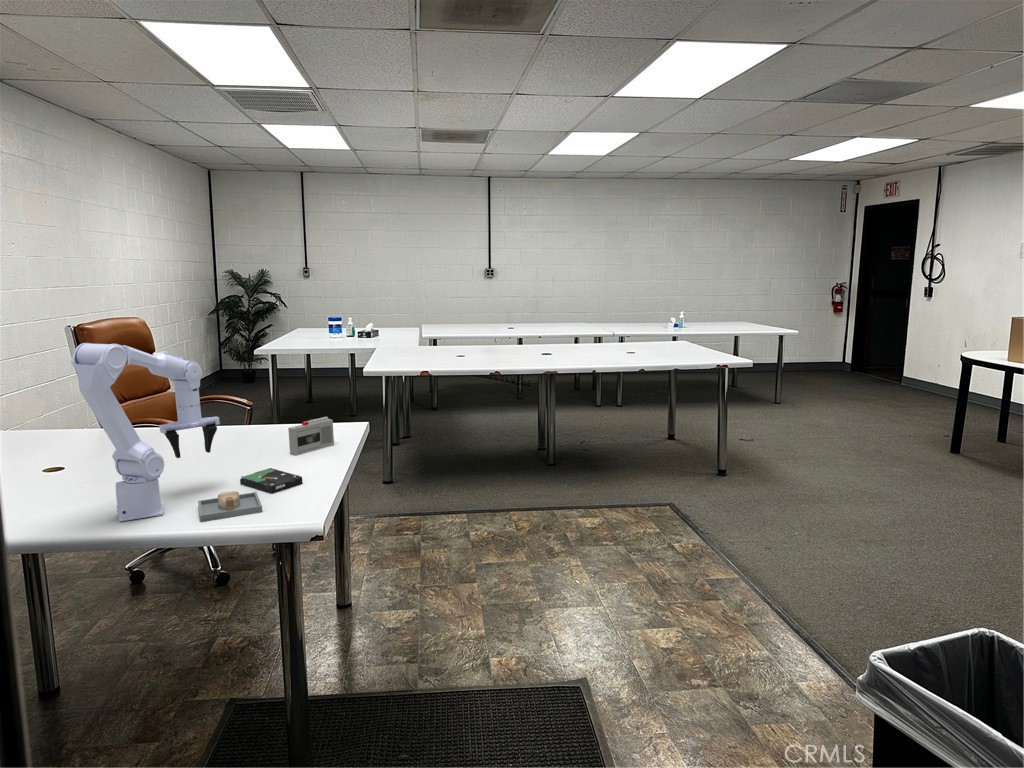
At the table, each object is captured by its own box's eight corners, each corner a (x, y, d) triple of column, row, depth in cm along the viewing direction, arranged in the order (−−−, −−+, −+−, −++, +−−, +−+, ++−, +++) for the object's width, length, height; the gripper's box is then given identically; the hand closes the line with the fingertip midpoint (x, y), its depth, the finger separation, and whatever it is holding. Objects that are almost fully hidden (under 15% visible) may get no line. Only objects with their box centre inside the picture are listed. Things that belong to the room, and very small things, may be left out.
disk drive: (303, 485, 188) (271, 476, 197) (303, 476, 188) (270, 467, 196) (272, 496, 180) (239, 485, 188) (271, 486, 179) (238, 476, 188)
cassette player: (295, 456, 216) (293, 425, 214) (290, 454, 218) (288, 424, 216) (334, 445, 229) (332, 416, 227) (329, 444, 230) (327, 415, 228)
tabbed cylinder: (218, 504, 171) (217, 493, 170) (239, 501, 173) (238, 489, 173) (219, 513, 164) (218, 502, 164) (241, 510, 167) (240, 498, 166)
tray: (200, 521, 161) (200, 516, 160) (198, 506, 171) (198, 500, 171) (262, 511, 167) (262, 506, 166) (256, 497, 177) (256, 491, 177)
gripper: (162, 411, 171) (168, 463, 173) (221, 403, 180) (225, 452, 183) (155, 407, 176) (160, 457, 178) (212, 399, 185) (217, 447, 188)
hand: (193, 454), depth 181 cm, fingers open, 7 cm apart
